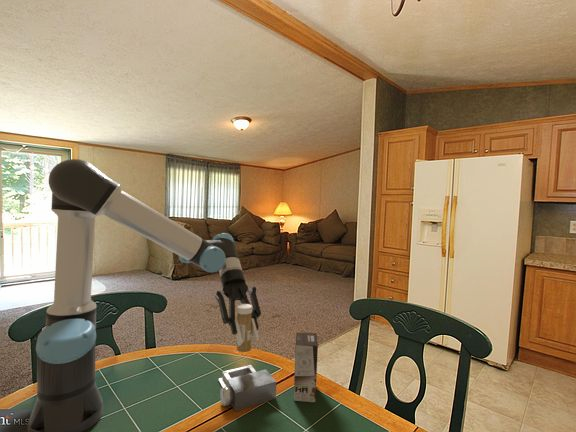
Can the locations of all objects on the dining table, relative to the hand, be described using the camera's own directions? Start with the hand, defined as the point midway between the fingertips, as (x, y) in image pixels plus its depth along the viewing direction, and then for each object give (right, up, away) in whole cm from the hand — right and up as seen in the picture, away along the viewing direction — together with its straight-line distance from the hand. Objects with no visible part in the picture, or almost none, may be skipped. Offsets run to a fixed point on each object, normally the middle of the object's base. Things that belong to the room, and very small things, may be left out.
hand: (248, 342), depth 91 cm
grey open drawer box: (-2, -14, 0) cm, 14 cm away
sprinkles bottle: (-2, -4, +4) cm, 5 cm away
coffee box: (+16, -15, +1) cm, 22 cm away
